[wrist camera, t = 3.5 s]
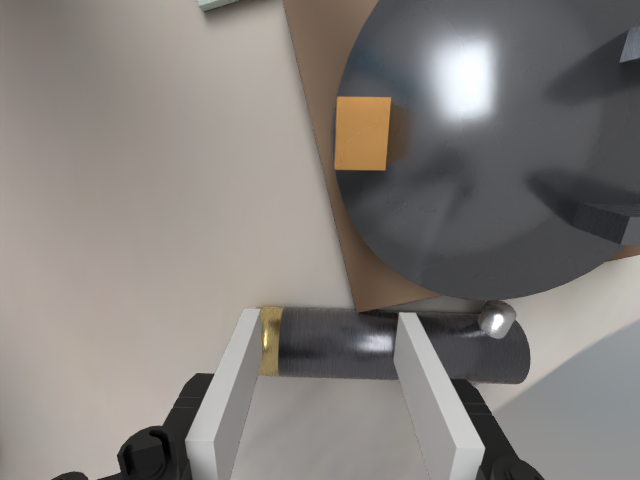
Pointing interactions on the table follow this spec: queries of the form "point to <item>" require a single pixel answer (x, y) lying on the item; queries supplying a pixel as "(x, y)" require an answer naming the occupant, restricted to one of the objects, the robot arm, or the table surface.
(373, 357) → the black cylinder
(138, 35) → the table surface
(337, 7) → the plinth
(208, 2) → the mat
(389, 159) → the chuck collar
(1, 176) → the table surface
